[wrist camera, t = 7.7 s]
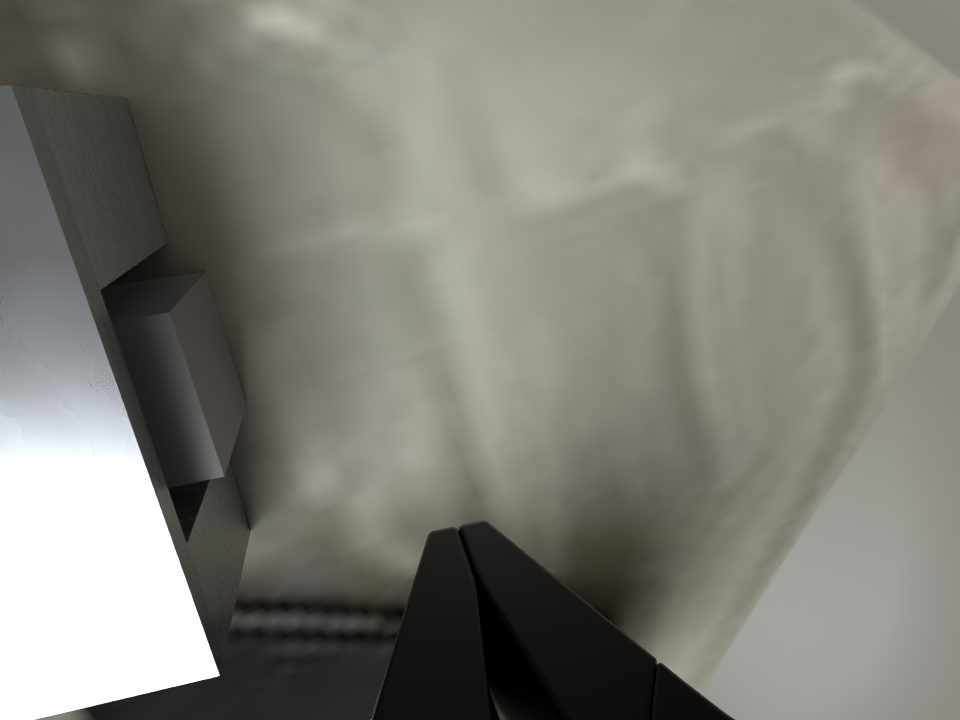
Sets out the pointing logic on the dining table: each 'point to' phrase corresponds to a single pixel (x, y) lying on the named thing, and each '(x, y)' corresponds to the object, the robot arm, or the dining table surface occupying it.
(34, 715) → the grey arch block
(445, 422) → the dining table surface
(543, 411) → the dining table surface
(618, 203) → the dining table surface
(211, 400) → the plug
